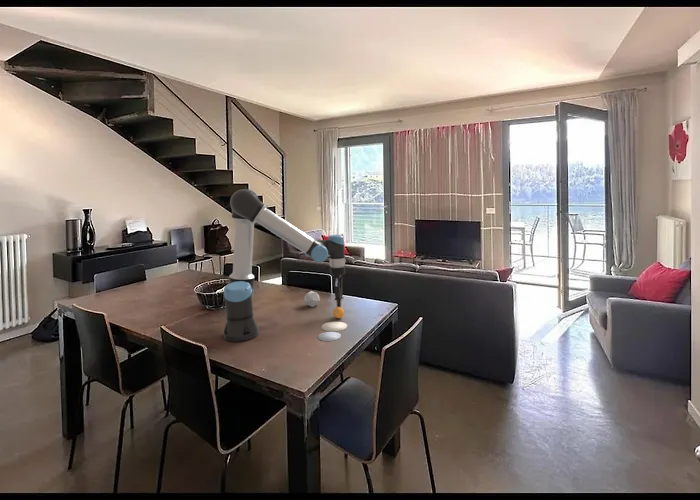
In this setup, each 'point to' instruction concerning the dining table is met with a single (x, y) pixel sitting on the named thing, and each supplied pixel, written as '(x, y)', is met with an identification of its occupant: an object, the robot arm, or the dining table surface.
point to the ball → (338, 312)
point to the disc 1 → (334, 326)
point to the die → (311, 298)
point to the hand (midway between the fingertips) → (339, 311)
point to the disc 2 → (329, 336)
